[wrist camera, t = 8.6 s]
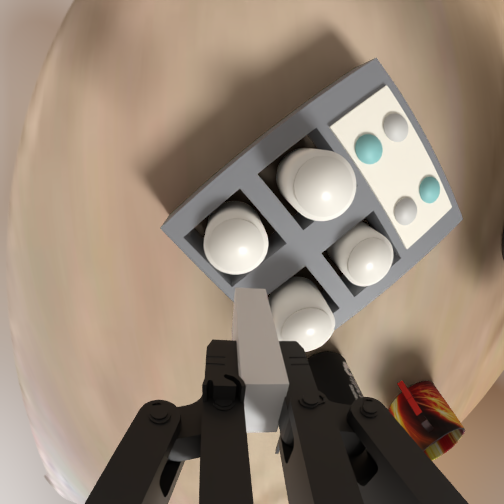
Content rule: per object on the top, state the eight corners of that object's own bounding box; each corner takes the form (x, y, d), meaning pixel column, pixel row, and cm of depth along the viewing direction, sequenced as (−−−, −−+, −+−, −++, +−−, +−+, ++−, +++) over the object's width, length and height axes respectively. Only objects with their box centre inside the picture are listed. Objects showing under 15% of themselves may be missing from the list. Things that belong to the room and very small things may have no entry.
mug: (397, 374, 40) (431, 429, 29) (442, 383, 43) (473, 426, 32) (362, 414, 43) (386, 469, 32) (410, 418, 46) (435, 462, 35)
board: (356, 67, 25) (378, 56, 20) (439, 208, 31) (465, 220, 26) (169, 214, 29) (159, 229, 24) (286, 334, 35) (294, 361, 30)
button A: (355, 208, 29) (379, 222, 24) (378, 244, 31) (402, 263, 26) (316, 239, 30) (333, 259, 25) (342, 274, 32) (361, 297, 27)
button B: (300, 266, 28) (315, 293, 24) (328, 300, 30) (346, 330, 25) (257, 299, 29) (264, 330, 24) (288, 330, 31) (299, 363, 26)
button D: (237, 189, 28) (240, 200, 23) (272, 229, 29) (281, 249, 25) (195, 225, 29) (189, 243, 24) (231, 262, 30) (232, 287, 25)
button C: (310, 135, 24) (331, 135, 19) (344, 182, 26) (370, 193, 21) (263, 172, 25) (273, 181, 20) (300, 217, 27) (317, 236, 22)
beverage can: (305, 347, 36) (332, 420, 25) (351, 349, 37) (386, 415, 26) (291, 383, 38) (310, 455, 27) (334, 384, 39) (361, 449, 28)
